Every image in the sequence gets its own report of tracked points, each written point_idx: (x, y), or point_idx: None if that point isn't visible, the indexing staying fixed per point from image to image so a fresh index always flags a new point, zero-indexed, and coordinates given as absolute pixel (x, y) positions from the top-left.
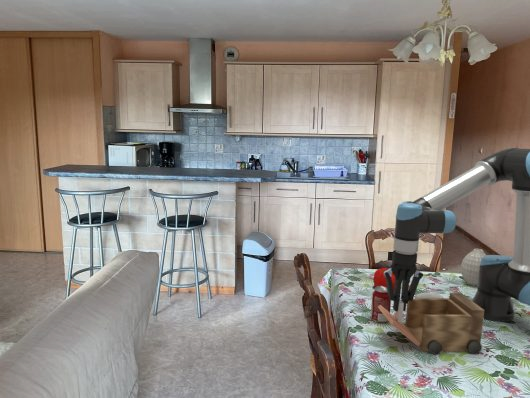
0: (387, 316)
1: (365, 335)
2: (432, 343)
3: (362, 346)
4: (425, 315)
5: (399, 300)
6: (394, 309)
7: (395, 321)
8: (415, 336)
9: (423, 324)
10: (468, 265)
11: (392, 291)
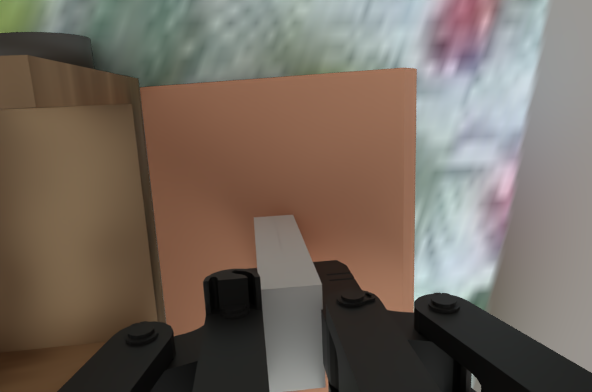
0: (408, 212)
1: (428, 260)
2: (55, 37)
3: (487, 132)
4: (23, 79)
5: (330, 307)
6: (347, 269)
7: (338, 166)
8: (139, 206)
9: (79, 97)
10: None
11: (532, 379)
